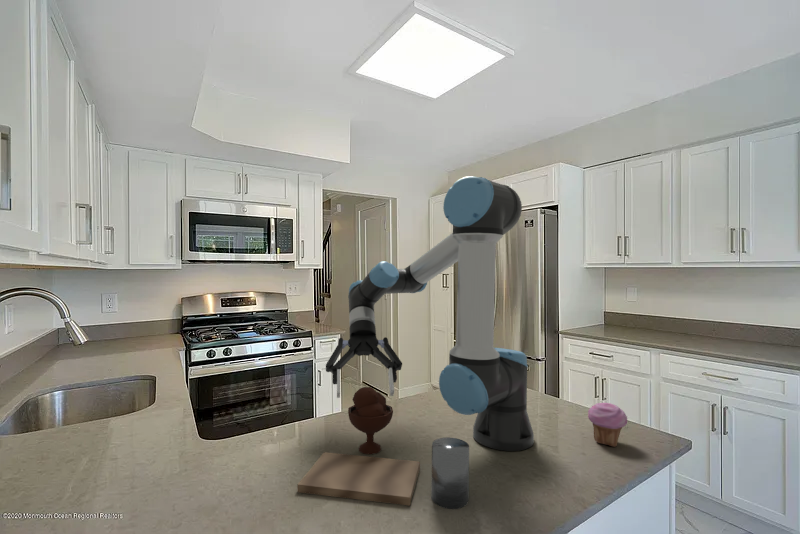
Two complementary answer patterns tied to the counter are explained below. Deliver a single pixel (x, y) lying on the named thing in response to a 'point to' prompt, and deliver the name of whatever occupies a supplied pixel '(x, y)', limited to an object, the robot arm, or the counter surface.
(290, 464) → the counter surface
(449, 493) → the metal tin
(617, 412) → the cupcake
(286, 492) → the counter surface
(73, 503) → the counter surface
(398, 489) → the walnut board
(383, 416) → the ice cream bowl
